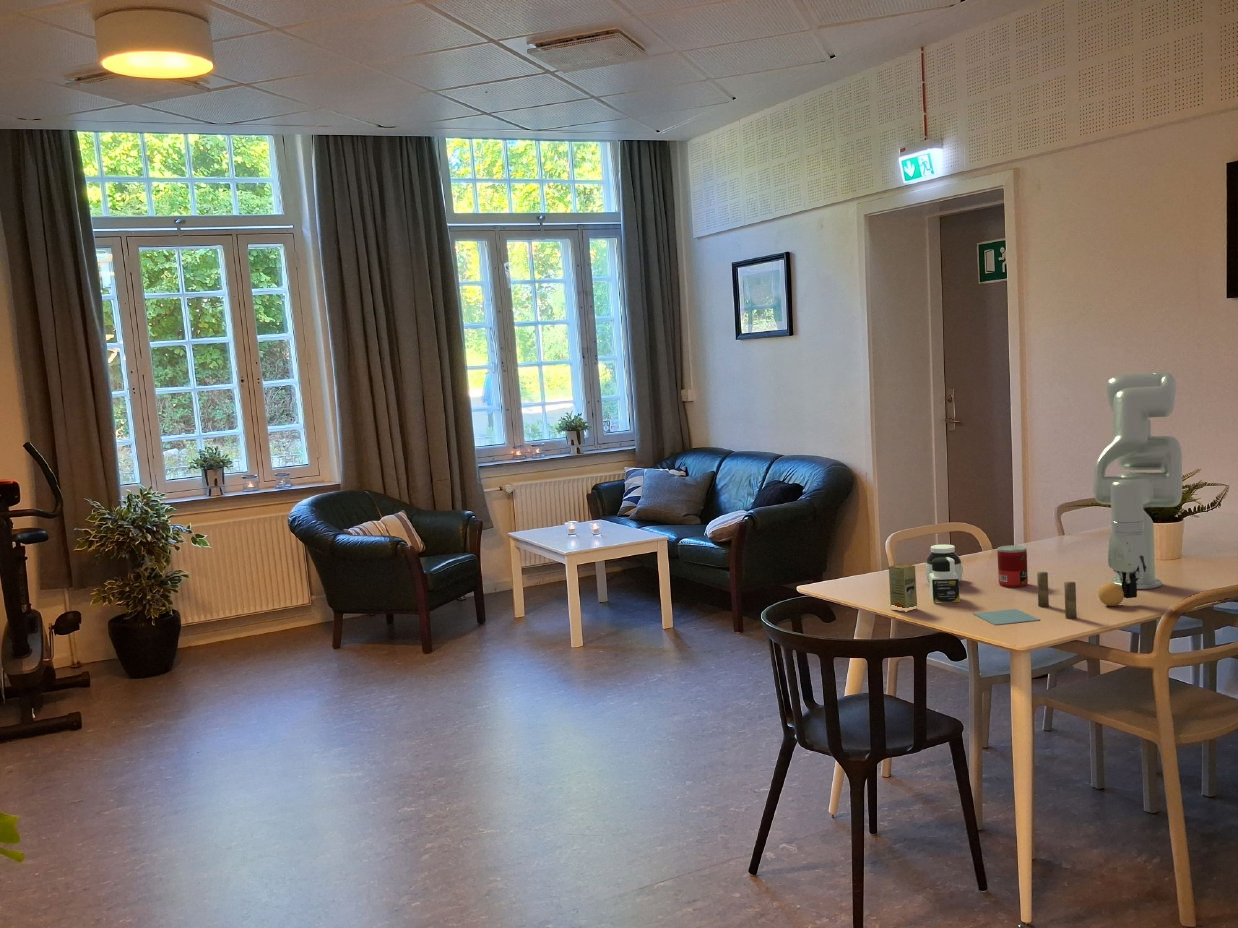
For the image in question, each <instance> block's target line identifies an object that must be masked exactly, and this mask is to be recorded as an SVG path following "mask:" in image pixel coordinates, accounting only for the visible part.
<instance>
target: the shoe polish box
mask: <svg viewBox="0 0 1238 928" xmlns="http://www.w3.org/2000/svg"><path fill="white" fill-rule="evenodd" d="M916 577H917V576H916V565H913V564H906V563H898V564H894V565H891V566H888V578H889V596H890V597H889V598H890V601H889V602H890V606H891V605H895V606H897V607H902V608H909V607H914V606H917V607H918V601H917V600H918V599H917V598H918V597H917V595H918V594H917V579H916Z"/></svg>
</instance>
